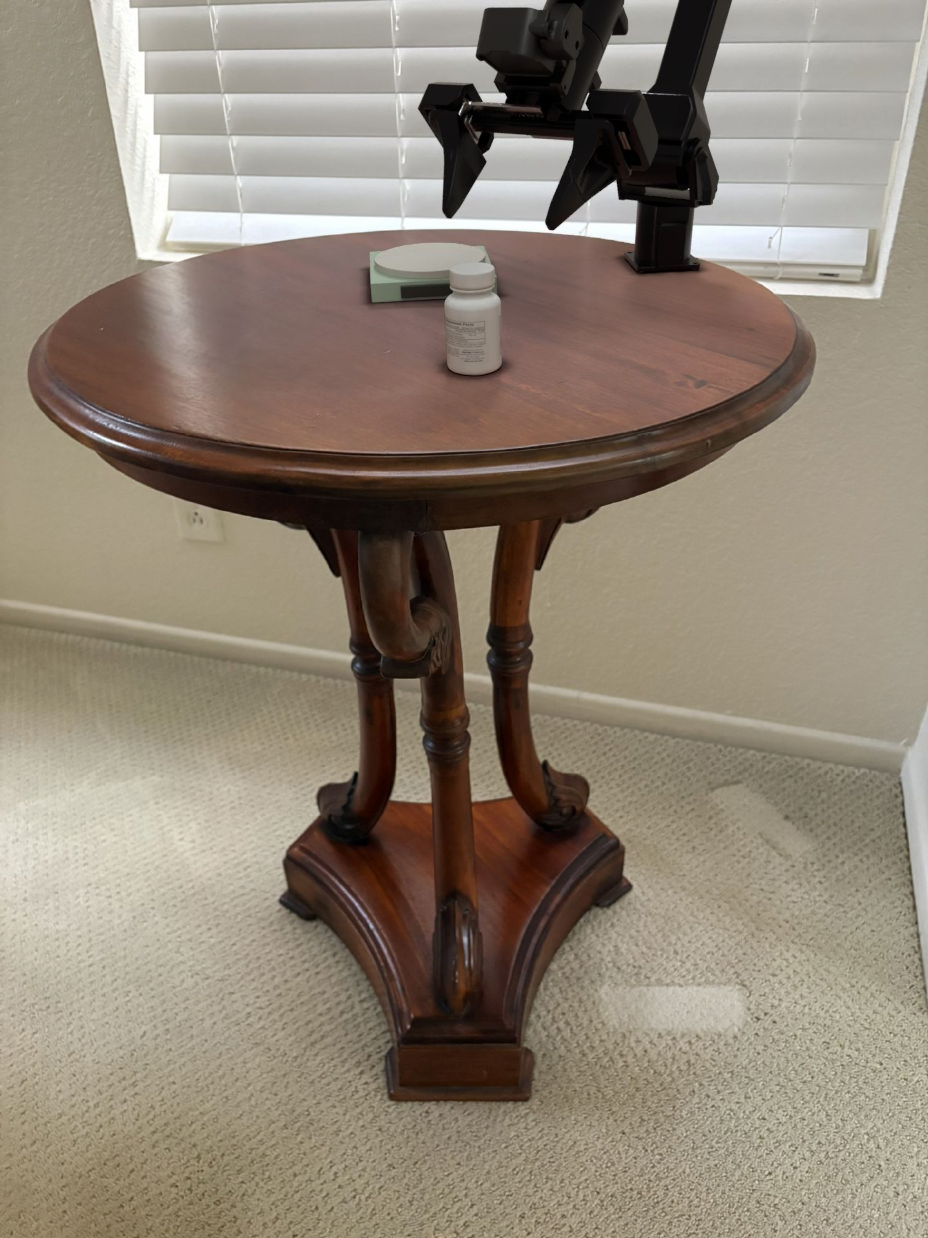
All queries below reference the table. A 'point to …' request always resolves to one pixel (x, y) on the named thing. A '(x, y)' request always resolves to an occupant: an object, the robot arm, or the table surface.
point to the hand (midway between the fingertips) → (496, 220)
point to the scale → (419, 270)
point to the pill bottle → (473, 320)
